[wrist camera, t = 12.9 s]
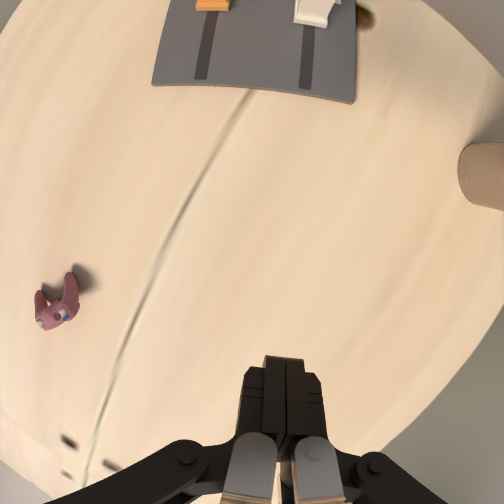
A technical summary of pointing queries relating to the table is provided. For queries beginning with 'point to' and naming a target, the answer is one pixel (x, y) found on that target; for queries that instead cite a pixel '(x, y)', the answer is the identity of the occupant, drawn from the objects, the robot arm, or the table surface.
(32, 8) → the table surface
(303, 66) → the switch panel
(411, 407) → the table surface
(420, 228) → the table surface
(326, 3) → the white slide tab
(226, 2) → the orange tab
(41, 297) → the video game controller
